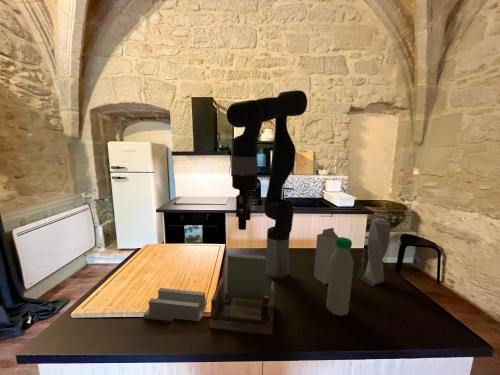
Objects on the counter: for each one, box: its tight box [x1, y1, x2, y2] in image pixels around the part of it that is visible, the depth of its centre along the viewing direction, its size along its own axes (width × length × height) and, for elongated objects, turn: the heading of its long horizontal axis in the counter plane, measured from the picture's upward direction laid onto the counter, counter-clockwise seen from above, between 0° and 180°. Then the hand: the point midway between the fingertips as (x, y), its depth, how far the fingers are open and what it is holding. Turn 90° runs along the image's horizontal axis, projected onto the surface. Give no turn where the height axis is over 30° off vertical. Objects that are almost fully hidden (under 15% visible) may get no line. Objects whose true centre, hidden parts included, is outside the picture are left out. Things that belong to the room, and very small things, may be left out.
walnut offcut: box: [222, 305, 263, 325], centre depth 66 cm, size 4×12×3 cm, turn 83°
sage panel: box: [226, 252, 266, 304], centre depth 71 cm, size 2×12×18 cm, turn 83°
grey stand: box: [143, 287, 208, 322], centre depth 72 cm, size 10×18×5 cm, turn 83°
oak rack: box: [209, 277, 275, 336], centre depth 69 cm, size 14×18×9 cm
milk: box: [313, 227, 339, 285], centre depth 90 cm, size 6×6×22 cm
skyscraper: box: [356, 213, 391, 287], centre depth 89 cm, size 8×8×28 cm
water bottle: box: [326, 236, 355, 317], centre depth 72 cm, size 7×7×25 cm
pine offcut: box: [230, 297, 262, 320], centre depth 66 cm, size 4×9×3 cm, turn 83°
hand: (244, 224), depth 68 cm, fingers open, 8 cm apart
